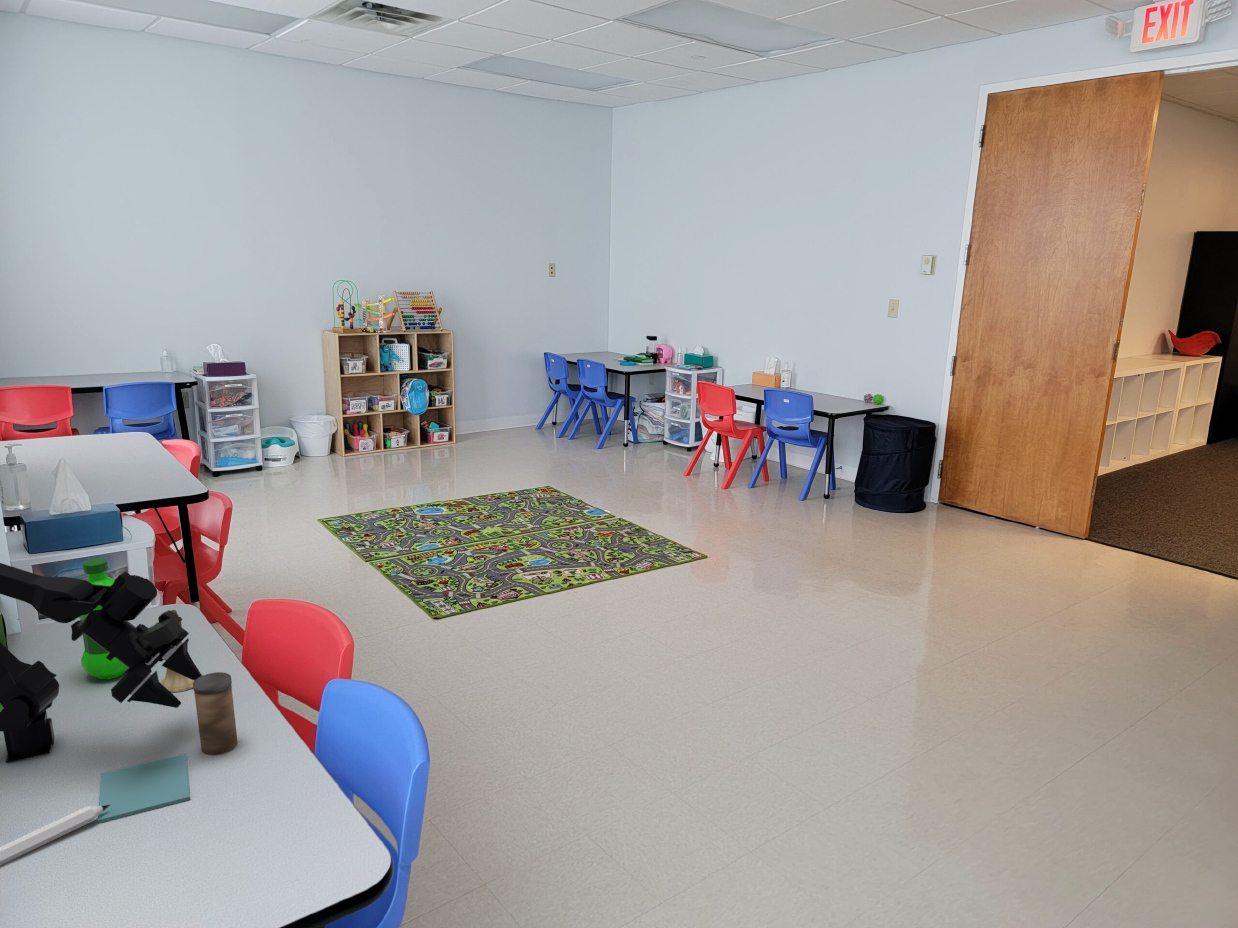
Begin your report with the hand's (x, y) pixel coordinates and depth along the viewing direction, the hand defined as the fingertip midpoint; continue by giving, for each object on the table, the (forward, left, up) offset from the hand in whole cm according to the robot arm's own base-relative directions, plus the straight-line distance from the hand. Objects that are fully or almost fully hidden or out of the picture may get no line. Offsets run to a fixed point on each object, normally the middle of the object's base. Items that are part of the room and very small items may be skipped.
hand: (190, 692), depth 154 cm
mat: (-8, -10, -11) cm, 17 cm away
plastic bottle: (-14, +38, -11) cm, 42 cm away
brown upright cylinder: (+4, -2, -11) cm, 11 cm away
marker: (-20, -18, -11) cm, 29 cm away
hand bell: (-1, +27, -11) cm, 30 cm away
